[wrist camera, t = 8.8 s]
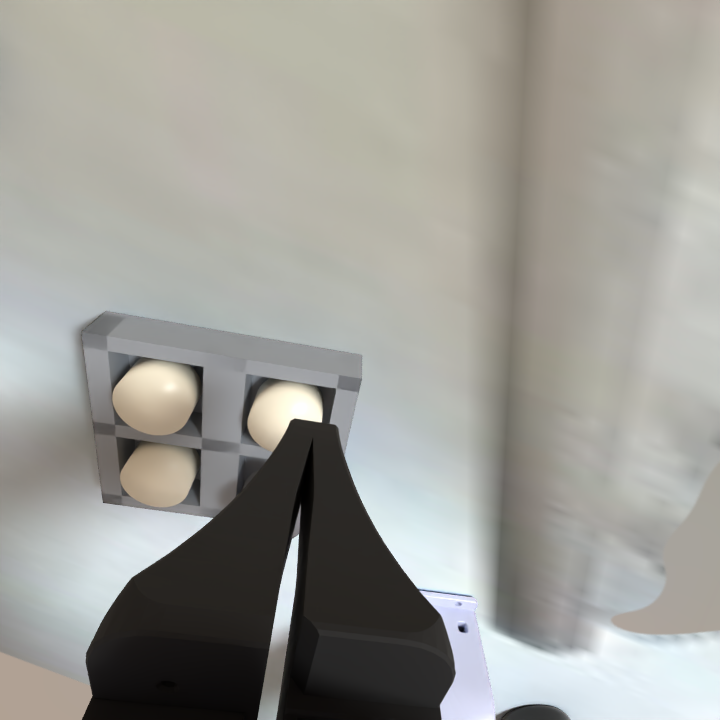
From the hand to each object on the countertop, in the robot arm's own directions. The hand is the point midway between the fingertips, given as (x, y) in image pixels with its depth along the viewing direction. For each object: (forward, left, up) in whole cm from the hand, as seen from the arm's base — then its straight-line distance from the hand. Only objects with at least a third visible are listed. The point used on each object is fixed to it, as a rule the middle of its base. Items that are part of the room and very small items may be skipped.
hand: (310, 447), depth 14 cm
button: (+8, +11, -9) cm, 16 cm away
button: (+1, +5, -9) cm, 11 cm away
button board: (+5, +8, -10) cm, 14 cm away
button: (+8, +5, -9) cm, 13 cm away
